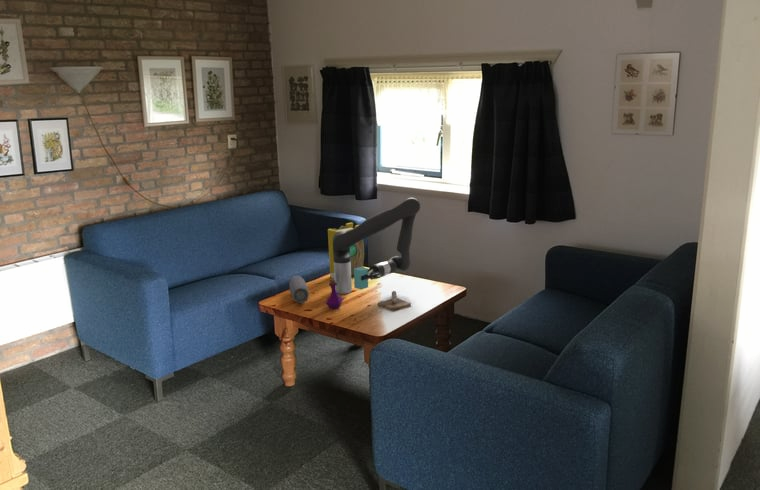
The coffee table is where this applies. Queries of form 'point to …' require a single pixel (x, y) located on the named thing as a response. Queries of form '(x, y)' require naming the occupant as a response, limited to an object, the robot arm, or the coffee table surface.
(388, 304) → the walnut base plate
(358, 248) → the decorative book
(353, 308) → the coffee table surface
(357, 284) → the tall teal pillar
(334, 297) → the purple potion bottle
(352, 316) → the coffee table surface
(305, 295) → the bluetooth speaker
